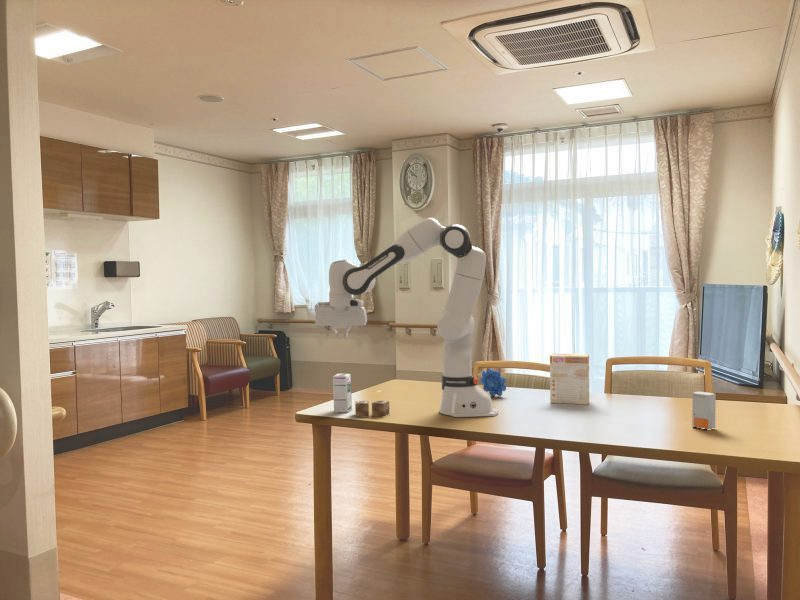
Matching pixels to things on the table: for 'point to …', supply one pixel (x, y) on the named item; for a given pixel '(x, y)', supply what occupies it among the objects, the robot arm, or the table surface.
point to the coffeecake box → (569, 378)
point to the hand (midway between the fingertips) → (341, 337)
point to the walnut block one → (362, 408)
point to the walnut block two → (380, 408)
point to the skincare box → (703, 410)
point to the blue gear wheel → (493, 382)
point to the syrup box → (342, 392)
